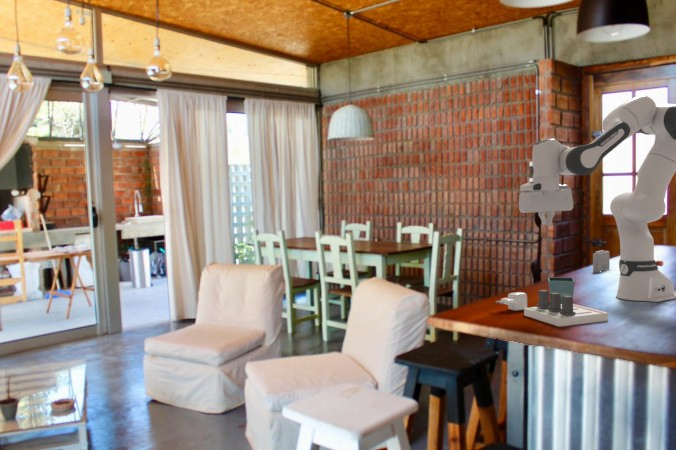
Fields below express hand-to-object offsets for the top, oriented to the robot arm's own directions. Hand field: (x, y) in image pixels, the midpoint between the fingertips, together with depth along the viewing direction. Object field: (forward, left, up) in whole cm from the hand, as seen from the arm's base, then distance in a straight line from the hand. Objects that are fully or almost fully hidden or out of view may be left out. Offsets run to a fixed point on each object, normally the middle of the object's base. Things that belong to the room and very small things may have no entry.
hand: (546, 224), depth 207 cm
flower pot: (-7, -2, -29) cm, 30 cm away
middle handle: (+10, +18, -26) cm, 34 cm away
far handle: (+10, +12, -26) cm, 31 cm away
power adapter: (+15, 0, -29) cm, 33 cm away
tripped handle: (+11, +24, -26) cm, 37 cm away
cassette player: (-75, -61, -29) cm, 101 cm away
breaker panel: (+7, +18, -29) cm, 35 cm away
